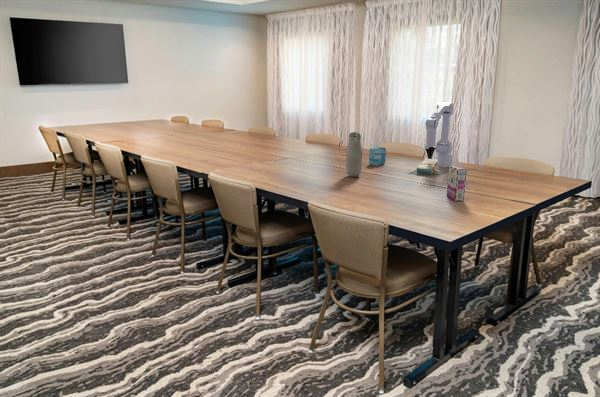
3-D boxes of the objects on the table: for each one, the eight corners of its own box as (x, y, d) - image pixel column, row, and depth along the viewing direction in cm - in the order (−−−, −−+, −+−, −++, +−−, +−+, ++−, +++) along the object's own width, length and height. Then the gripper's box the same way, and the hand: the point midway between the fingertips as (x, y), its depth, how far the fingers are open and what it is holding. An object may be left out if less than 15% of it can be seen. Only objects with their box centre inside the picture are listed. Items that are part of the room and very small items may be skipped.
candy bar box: (464, 201, 233) (467, 169, 229) (454, 201, 233) (457, 169, 229) (455, 195, 244) (457, 165, 240) (446, 196, 244) (448, 165, 240)
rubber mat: (419, 169, 314) (419, 165, 313) (448, 172, 303) (448, 168, 302) (407, 174, 297) (407, 170, 297) (437, 178, 286) (438, 174, 286)
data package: (373, 165, 327) (373, 148, 324) (368, 164, 330) (369, 148, 327) (385, 163, 333) (386, 147, 330) (380, 163, 337) (381, 146, 334)
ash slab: (423, 160, 303) (416, 168, 295) (437, 161, 298) (430, 169, 290) (423, 166, 305) (416, 173, 297) (437, 167, 300) (430, 175, 292)
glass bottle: (344, 177, 290) (344, 132, 282) (348, 174, 299) (349, 130, 292) (359, 178, 286) (360, 133, 279) (363, 175, 296) (364, 131, 288)
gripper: (429, 135, 303) (427, 156, 307) (420, 138, 292) (419, 159, 295) (439, 136, 299) (438, 157, 303) (431, 139, 288) (430, 160, 291)
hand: (429, 158), depth 299 cm, fingers closed
